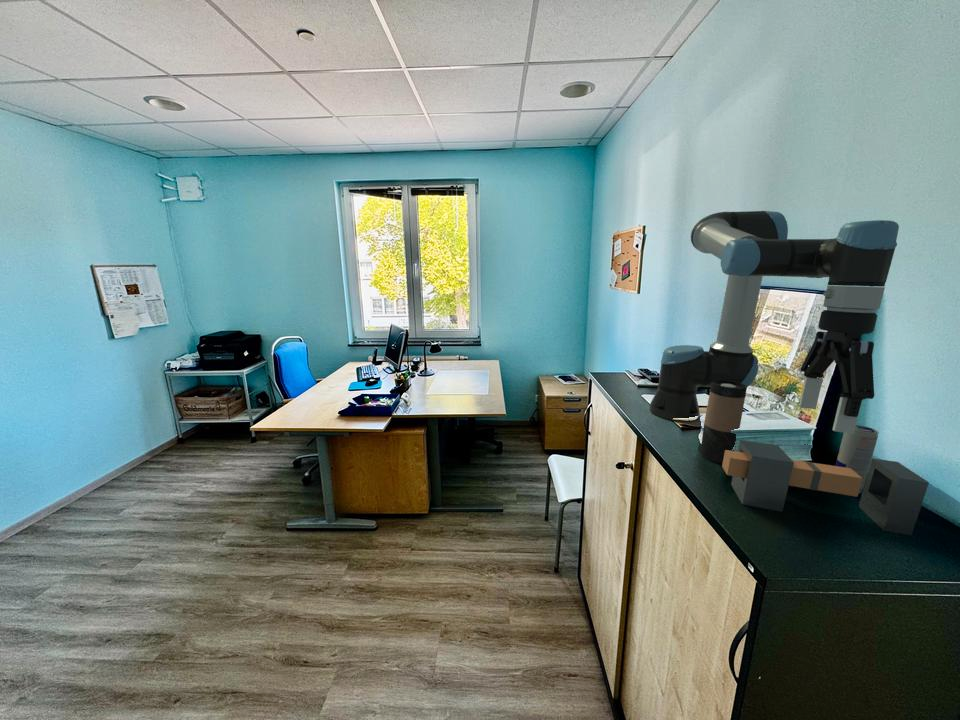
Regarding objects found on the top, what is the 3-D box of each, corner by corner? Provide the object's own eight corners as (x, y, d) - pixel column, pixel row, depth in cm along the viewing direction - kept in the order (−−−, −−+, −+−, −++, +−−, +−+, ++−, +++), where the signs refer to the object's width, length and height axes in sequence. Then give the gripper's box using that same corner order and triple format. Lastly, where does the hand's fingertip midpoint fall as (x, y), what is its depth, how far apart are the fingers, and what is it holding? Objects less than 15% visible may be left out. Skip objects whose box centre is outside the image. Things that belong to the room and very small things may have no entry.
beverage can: (855, 486, 86) (872, 425, 82) (865, 498, 81) (884, 434, 78) (826, 481, 88) (842, 421, 84) (835, 492, 83) (852, 429, 80)
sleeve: (731, 484, 86) (739, 439, 83) (767, 490, 83) (777, 445, 81) (742, 504, 78) (752, 456, 76) (782, 511, 76) (794, 462, 74)
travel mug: (738, 465, 94) (753, 389, 90) (705, 462, 96) (718, 387, 91) (725, 452, 101) (739, 380, 97) (694, 448, 103) (706, 378, 98)
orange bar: (721, 466, 84) (725, 449, 83) (845, 486, 77) (850, 468, 76) (727, 475, 80) (730, 457, 79) (857, 497, 73) (862, 478, 72)
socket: (858, 506, 78) (872, 458, 76) (883, 510, 77) (897, 461, 75) (883, 530, 71) (900, 478, 68) (911, 535, 70) (928, 482, 67)
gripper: (794, 304, 82) (775, 397, 87) (864, 315, 59) (833, 440, 64) (837, 306, 79) (815, 402, 84) (928, 317, 56) (891, 448, 61)
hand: (823, 419), depth 74 cm, fingers open, 13 cm apart
